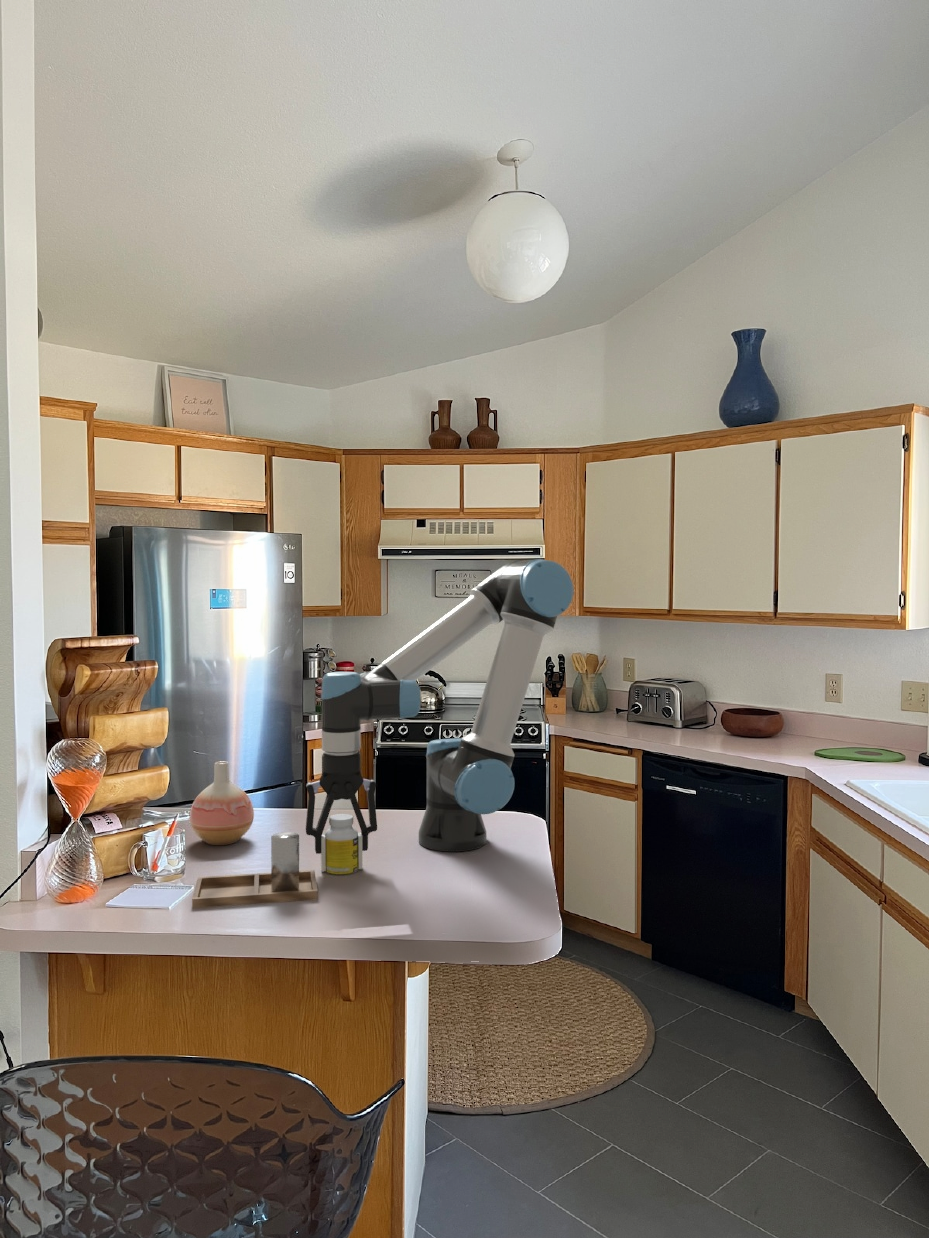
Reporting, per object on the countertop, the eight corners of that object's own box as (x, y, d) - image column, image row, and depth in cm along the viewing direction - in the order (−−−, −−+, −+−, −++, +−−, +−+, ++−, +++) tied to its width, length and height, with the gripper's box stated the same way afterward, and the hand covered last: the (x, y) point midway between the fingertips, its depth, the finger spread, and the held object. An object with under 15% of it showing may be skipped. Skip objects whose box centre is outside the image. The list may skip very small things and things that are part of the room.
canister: (298, 884, 165) (298, 831, 165) (299, 893, 160) (299, 839, 160) (271, 886, 164) (271, 832, 164) (271, 895, 159) (271, 840, 159)
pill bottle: (351, 881, 170) (351, 822, 170) (320, 879, 171) (319, 820, 171) (362, 871, 177) (362, 813, 176) (331, 868, 178) (331, 811, 177)
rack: (314, 883, 169) (314, 869, 169) (317, 905, 158) (317, 890, 158) (197, 891, 165) (197, 877, 165) (192, 914, 153) (192, 899, 153)
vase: (220, 854, 187) (220, 771, 186) (176, 844, 194) (175, 764, 193) (266, 838, 198) (266, 760, 198) (223, 829, 206) (223, 754, 205)
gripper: (388, 746, 179) (388, 858, 180) (290, 749, 175) (290, 865, 176) (393, 753, 171) (393, 870, 172) (291, 757, 167) (291, 877, 168)
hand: (341, 867), depth 174 cm, fingers closed on pill bottle, 6 cm apart
